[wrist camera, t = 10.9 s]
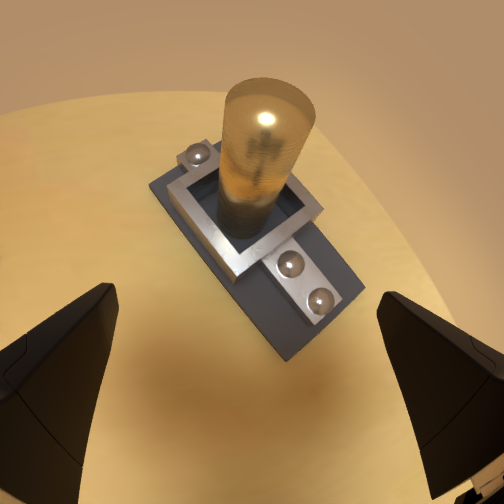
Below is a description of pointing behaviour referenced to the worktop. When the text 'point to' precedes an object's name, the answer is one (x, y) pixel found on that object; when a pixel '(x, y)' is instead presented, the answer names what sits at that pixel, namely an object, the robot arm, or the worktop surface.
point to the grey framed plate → (267, 248)
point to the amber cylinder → (258, 151)
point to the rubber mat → (257, 283)
